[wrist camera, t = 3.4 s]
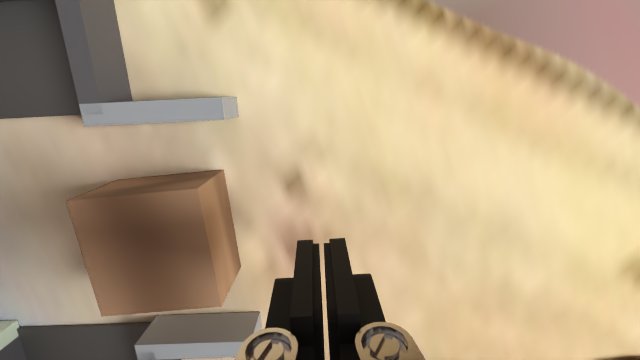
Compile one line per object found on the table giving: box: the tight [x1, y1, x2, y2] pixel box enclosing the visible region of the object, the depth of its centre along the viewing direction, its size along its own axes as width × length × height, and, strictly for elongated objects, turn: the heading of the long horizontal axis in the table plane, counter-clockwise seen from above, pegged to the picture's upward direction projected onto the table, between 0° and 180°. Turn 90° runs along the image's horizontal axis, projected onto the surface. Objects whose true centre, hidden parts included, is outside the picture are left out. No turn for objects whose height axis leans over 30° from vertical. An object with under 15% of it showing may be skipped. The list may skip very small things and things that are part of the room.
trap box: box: [0, 0, 261, 360], centre depth 18 cm, size 23×26×2 cm
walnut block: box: [66, 170, 241, 316], centre depth 17 cm, size 6×6×4 cm
